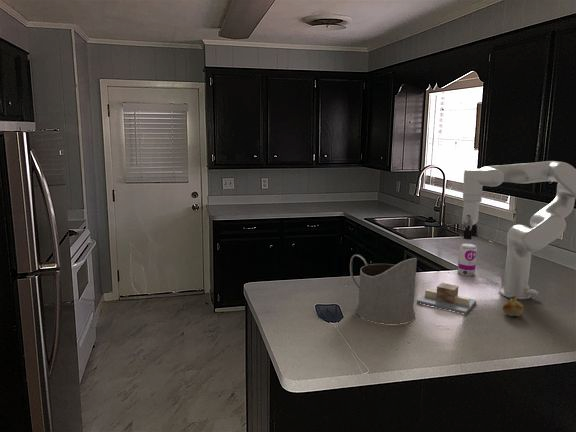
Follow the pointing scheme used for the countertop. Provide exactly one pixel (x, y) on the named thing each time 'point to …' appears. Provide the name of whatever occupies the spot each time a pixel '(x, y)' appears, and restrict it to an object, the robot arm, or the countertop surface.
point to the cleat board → (458, 306)
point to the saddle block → (446, 292)
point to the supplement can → (467, 259)
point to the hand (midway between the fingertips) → (470, 236)
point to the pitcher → (386, 291)
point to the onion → (513, 307)
